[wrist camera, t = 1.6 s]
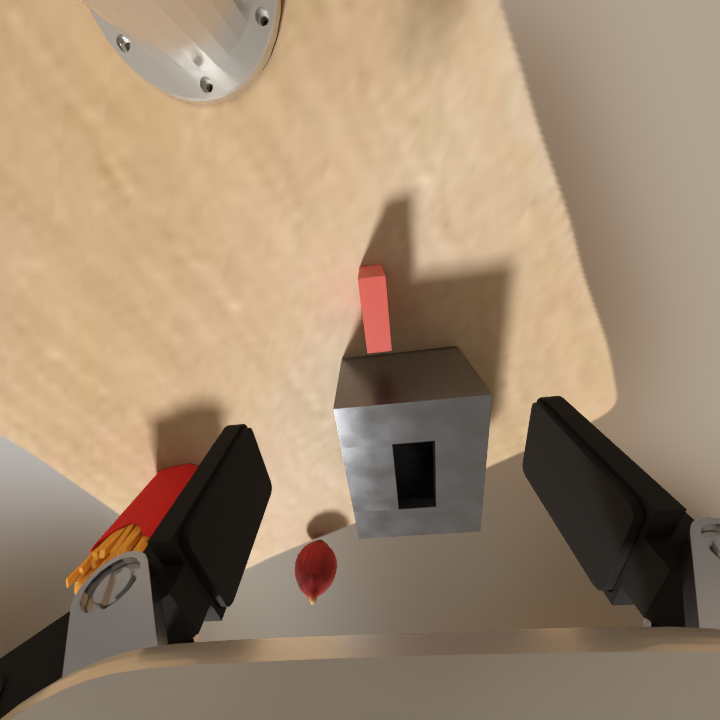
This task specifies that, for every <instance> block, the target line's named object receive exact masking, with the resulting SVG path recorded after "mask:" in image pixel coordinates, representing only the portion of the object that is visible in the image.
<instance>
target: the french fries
mask: <svg viewBox="0 0 720 720" xmlns="http://www.w3.org/2000/svg"><path fill="white" fill-rule="evenodd" d="M198 467H199V466H196V465H193V464H184V465H179V466H174V467H170V468H166V469H162V470H160V471H159V472H158V473H157V475H156V476H155V477H154V478H153V479H152V480H151V481H150V482H149V484H148V485H147V486H146V487H145V488H144V489H143V490H142V492H141V493H140V494H139V495H138V496H137V497H136V498H135V499H134V501H133V502H132V503H131V504H130V505H129V506H128V507H127V509H126V510H125V511H124V512H123V513H122V514H121V515H120V516H119V518H118V519H117V520H116V521H115V522H114V523H113V525H112V526H111V527H110V528H109V529H108V530H107V531H106V532H105V533H104V535H103V536H102V537H101V538H100V539H99V540H98V542H97V543H96V544H95V545H94V546H93V548H92V549H91V550H90V552H91V554H90V555H89V556H88V557H87V559H86V560H85V561H84V562H83V563H82V564H81V565H80V566H79V567H78V568H77V569H76V570H75V571H73V572H72V573H71V574H70V575H69V576H68V577H67V579H66V585H67V587H69V586H70V585H71V584H72V583H73V582H74V581H75V580H76V579H77V578H78V577H79V576H80V577H79V578H78V579H77V580H76V582H75V592H74V593H75V594H77V592H78V590H79V589H80V587H81V586H82V585H83V583H84V582H85V581H86V580H87V579H88V578H89V576H90V575H92V574H93V573H94V572H95V571H96V570H97V569H98V568H99V567H100V566H102V565H103V564H105V563H106V562H108V561H109V560H111V559H112V558H114V557H116V556H118V555H120V554H122V553H126V552H130V551H141V552H142V553H143V551H144V550H145V548H146V547H147V545H148V543H147V541H148V540H149V538H150V537H151V535H152V534H153V533H154V531H155V530H156V528H157V527H158V525H159V524H160V522H161V521H162V519H163V518H164V516H165V515H166V513H167V512H168V511H169V509H170V508H171V506H172V505H173V503H174V502H175V500H176V499H177V497H178V496H179V494H180V493H181V491H182V490H183V489H184V487H185V486H186V484H187V483H188V481H189V480H190V478H191V477H192V475H193V474H194V472H195V471H196V469H197V468H198Z"/></svg>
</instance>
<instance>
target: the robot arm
mask: <svg viewBox="0 0 720 720" xmlns="http://www.w3.org/2000/svg"><path fill="white" fill-rule="evenodd" d="M80 1H81V2H82V3H84V4H85V5H86V6H88V7H89V9H90V11H91V13H92V16H93V17H94V19H95V21H96V22H97V24H98V26H99V27H100V29H101V31H102V33H103V34H104V36H105V38H106V39H107V40H108V42H109V43H110V44H111V46H112V47H113V48H114V50H115V51H116V52H117V54H118V55H119V56H120V57H121V59H122V60H123V61H124V62H125V63H126V64H127V65H128V66H129V67H130V68H131V69H132V70H133V71H134V72H135V73H136V74H137V75H139V76H140V77H141V78H143V79H144V80H145V81H147V82H148V83H150V84H151V85H152V86H154V87H155V88H157V89H158V90H160V91H162V92H164V93H165V94H167V95H169V96H170V97H173V98H176V99H178V100H181V101H184V102H186V103H191V104H198V105H212V104H220V103H223V102H226V101H228V100H231V99H233V98H236V97H237V96H238V95H240V94H241V93H243V92H244V91H245V90H247V89H248V88H249V87H250V86H251V85H252V84H253V82H254V81H255V80H256V79H257V78H258V77H259V75H260V74H261V72H262V70H263V69H264V67H265V65H266V63H267V61H268V60H269V58H270V55H271V52H272V49H273V46H274V43H275V40H276V37H277V32H278V26H279V20H280V14H281V0H80ZM265 20H268V23H267V25H265V26H263V22H264V21H265ZM211 86H213V89H212V91H211V92H210V91H209V89H210V87H211ZM523 471H524V474H525V476H526V478H527V479H528V481H529V482H530V484H531V486H532V487H533V489H534V491H535V492H536V494H537V495H538V497H539V499H540V500H541V502H542V503H543V505H544V507H545V508H546V510H547V511H548V513H549V515H550V516H551V518H552V519H553V521H554V523H555V524H556V526H557V527H558V529H559V531H560V532H561V534H562V536H563V537H564V539H565V540H566V542H567V544H568V545H569V546H570V548H571V550H572V551H573V553H574V555H575V556H576V558H577V560H578V561H579V563H580V564H581V566H582V568H583V569H584V571H585V572H586V574H587V576H588V577H589V579H590V580H591V582H592V583H593V585H594V586H595V587H596V588H597V589H598V590H603V592H604V593H605V595H606V596H607V598H608V599H609V601H610V603H611V604H612V605H631V604H635V606H636V607H637V608H638V610H639V611H640V613H641V614H642V615H643V617H644V627H596V628H595V627H594V628H593V627H592V628H561V629H559V628H558V629H525V630H524V629H523V630H492V631H491V630H489V631H459V632H458V631H457V632H430V633H429V632H428V633H400V634H372V635H345V636H344V635H343V636H321V637H320V636H319V637H297V638H296V637H294V638H269V639H246V640H228V641H212V642H200V640H199V635H198V633H199V631H200V629H201V626H202V624H203V621H222V618H223V616H224V613H225V610H226V607H229V606H230V605H231V604H232V603H233V601H234V598H235V595H236V593H237V590H238V587H239V584H240V581H241V578H242V575H243V573H244V570H245V567H246V564H247V561H248V558H249V555H250V553H251V550H252V547H253V544H254V541H255V538H256V535H257V532H258V530H259V527H260V524H261V521H262V518H263V515H264V512H265V510H266V507H267V504H268V501H269V498H270V495H271V491H272V485H271V481H270V478H269V475H268V472H267V470H266V467H265V464H264V461H263V458H262V456H261V453H260V450H259V447H258V444H257V442H256V439H255V436H254V433H253V431H252V429H251V428H247V426H246V425H245V424H239V425H228V426H226V427H225V428H224V430H223V431H222V433H221V434H220V436H219V437H218V439H217V440H216V442H215V443H214V445H213V446H212V447H211V449H210V450H209V452H208V453H207V455H206V456H205V458H204V459H203V461H202V462H201V464H200V465H199V467H198V468H197V469H196V471H195V472H194V474H193V475H192V477H191V478H190V480H189V481H188V483H187V484H186V486H185V487H184V489H183V490H182V491H181V493H180V494H179V496H178V497H177V499H176V500H175V502H174V503H173V505H172V506H171V508H170V509H169V511H168V512H167V513H166V515H165V516H164V518H163V519H162V521H161V522H160V524H159V525H158V527H157V528H156V530H155V531H154V533H153V534H152V535H151V537H150V538H149V540H148V541H147V543H148V545H147V547H146V548H145V550H144V551H143V553H142V552H141V551H130V552H126V553H122V554H120V555H118V556H116V557H114V558H112V559H111V560H109V561H108V562H106V563H105V564H103V565H102V566H100V567H99V568H98V569H97V570H96V571H95V572H94V573H93V574H92V575H90V576H89V578H88V579H87V580H86V581H85V582H84V583H83V585H82V586H81V587H80V589H79V590H78V592H77V594H76V595H75V597H74V599H73V603H72V606H71V609H70V612H68V613H67V614H65V615H64V616H62V617H61V618H59V619H58V620H56V621H55V622H53V623H52V624H50V625H49V626H47V627H46V628H44V629H43V630H42V631H40V632H39V633H37V634H36V635H34V636H33V637H31V638H30V639H29V640H27V641H26V642H24V643H23V644H21V645H20V646H18V647H17V648H15V649H14V650H12V651H11V652H9V653H8V654H6V655H5V656H3V657H2V658H0V720H720V518H712V517H705V518H698V519H696V520H694V519H692V518H691V517H690V516H689V515H688V514H687V513H686V512H685V511H686V508H684V507H683V506H682V505H681V504H680V503H679V502H678V501H677V500H675V498H673V497H672V496H671V495H670V494H669V493H668V492H667V491H666V490H664V489H663V488H662V487H661V486H660V485H659V484H658V483H657V482H656V481H655V480H653V479H652V478H651V477H650V476H649V475H648V474H647V473H646V472H644V470H642V469H641V468H640V467H639V466H638V465H637V464H636V463H635V462H633V461H632V460H631V459H630V458H629V457H628V456H627V455H626V454H625V453H624V452H622V451H621V450H620V449H619V448H618V447H617V446H615V444H614V443H612V442H611V441H610V440H609V439H608V438H607V437H606V436H605V435H604V434H603V433H601V432H600V431H599V430H598V429H597V428H596V427H595V426H594V425H593V424H591V423H590V422H589V421H588V420H587V419H586V418H585V417H584V416H583V415H581V414H580V413H579V412H578V411H577V410H576V409H575V408H574V407H573V406H572V405H570V404H569V403H568V402H567V401H566V400H565V399H564V398H562V397H561V396H552V397H541V398H539V399H538V400H537V402H536V403H533V405H532V408H531V415H530V421H529V427H528V433H527V440H526V446H525V452H524V458H523Z"/></svg>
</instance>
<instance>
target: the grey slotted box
mask: <svg viewBox="0 0 720 720" xmlns="http://www.w3.org/2000/svg"><path fill="white" fill-rule="evenodd" d="M491 403H492V393H491V392H490V391H489V389H488V388H487V386H486V385H485V384H484V382H483V381H482V380H481V378H480V377H479V375H478V374H477V373H476V371H475V370H474V368H473V367H472V366H471V364H470V363H469V362H468V360H467V359H466V357H465V356H464V355H463V353H462V352H461V350H460V349H459V348H458V347H449V348H439V349H430V350H420V351H411V352H401V353H392V354H382V355H373V356H363V357H354V358H344V359H342V361H341V367H340V373H339V379H338V385H337V391H336V397H335V402H334V408H333V410H334V415H335V420H336V425H337V430H338V435H339V440H340V445H341V450H342V455H343V460H344V465H345V470H346V475H347V480H348V485H349V490H350V495H351V500H352V505H353V510H354V515H355V520H356V525H357V530H358V535H359V539H362V538H377V537H395V536H411V535H426V534H427V535H428V534H444V533H461V532H475V531H476V532H477V531H480V529H481V517H482V506H483V494H484V483H485V471H486V460H487V449H488V437H489V426H490V414H491Z"/></svg>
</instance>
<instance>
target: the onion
mask: <svg viewBox="0 0 720 720" xmlns="http://www.w3.org/2000/svg"><path fill="white" fill-rule="evenodd" d="M336 569H337V560H336V557H335V554H334V552H333V550H332V549H331V548H330V547H329V546H328V545H327V544H326V543H325V542H324V541H323V540H317V541H314V542H312V543H309V544H308V545H306V546H305V547H304V548H303V549H302V550H301V552H300V553H299V554H298V557H297V559H296V564H295V576H296V580H297V582H298V585H299V587H300V589H301V591H302V592H303V593H304V594H305V595H306V596H307V597H308V599H309V601H310V603H311V604H312V605H315V601H316V599H317V596H319V595H321V594H322V593H324V592H325V591H326V590H327V589H328V588H329V587H330V585H331V584H332V582H333V580H334V578H335V574H336Z"/></svg>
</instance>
